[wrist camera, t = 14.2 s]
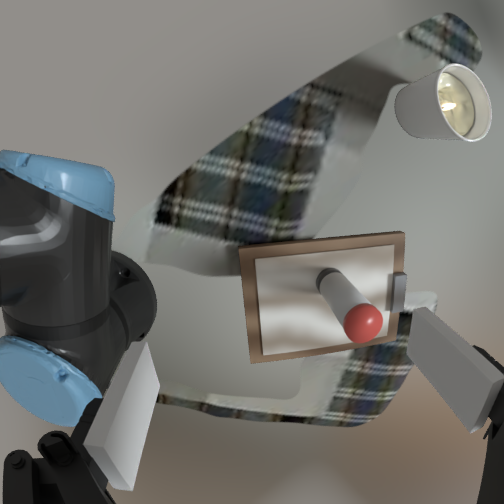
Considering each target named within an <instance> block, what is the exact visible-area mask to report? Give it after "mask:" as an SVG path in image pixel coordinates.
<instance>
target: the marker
mask: <svg viewBox="0 0 504 504" xmlns="http://www.w3.org/2000/svg"><path fill="white" fill-rule="evenodd" d="M316 287H317V289H318V291H319V292H320V294H321V295H322V297H323V298H324V300H325V301H326V303H327V304H328V306H329V307H330V309H331V310H332V312H333V313H334V315H335V316H336V318H337V320H338V321H339V323H340V324H341V326H342V327H343V330H344V332H345V334H346V335H347V337H348V338H349V339H350V340H351V341H352V342H354V343H365V342H368V341H370V340H372V339H373V338H374V337H376V336H377V334H378V333H379V332H380V330H381V328H382V325H383V317H382V314H381V312H380V311H379V310H378V309H377V308H376V307H375V306H374V305H372V304H371V303H370V302H369V301H368V300H367V299H366V298H365V297H364V296H363V295H362V294H361V293H360V291H359V290H358V289H357V288H356V287H355V286H354V285H353V284H352V283H351V282H350V281H349V280H348V279H347V278H346V277H345V276H344V275H343V274H342V273H341V272H340V271H339V270H338V269H336V268H326V269H324V270H322V271H321V272H320V273H319V275H318V276H317V279H316Z"/></svg>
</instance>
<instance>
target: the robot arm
mask: <svg viewBox="0 0 504 504" xmlns="http://www.w3.org/2000/svg"><path fill="white" fill-rule="evenodd" d="M114 187H115V186H114V180H113V177H112V175H111V174H110V173H109V171H107V170H106V169H104V168H102V167H99V166H95V165H91V164H86V163H81V162H76V161H71V160H65V159H59V158H54V157H48V156H42V155H35V154H29V153H21V152H16V151H9V150H2V151H0V307H2V311H3V318H4V323H5V329H6V333H5V336H2V337H1V338H0V382H1V384H2V385H3V386H4V388H5V389H6V391H7V392H8V393H9V394H10V395H11V396H12V397H13V398H14V399H15V400H16V401H17V402H18V403H19V404H20V405H21V406H22V407H24V408H25V409H26V410H28V411H29V412H31V413H32V414H34V415H35V416H37V417H39V418H41V419H43V420H45V421H47V422H50V423H53V424H56V425H60V426H69V427H72V426H76V427H75V429H74V431H73V433H72V435H71V437H69V436H68V435H67V433H64V432H62V431H51V432H48V433H47V434H45V435H44V436H43V437H42V438H41V439H40V440H39V442H38V450H39V452H40V453H41V455H42V456H43V457H44V458H37V459H36V458H35V459H33V458H32V457H31V455H30V454H29V453H28V452H27V451H25V450H15V451H12V452H11V453H9V454H8V455H7V457H6V459H5V461H4V471H3V504H116V503H115V501H114V500H113V498H112V497H111V495H110V494H109V492H108V491H107V489H106V486H107V483H108V481H109V483H110V484H111V485H112V486H113V488H114V489H120V490H129V491H133V487H134V483H135V478H136V475H137V470H138V466H139V462H140V458H141V454H142V450H143V446H144V443H145V439H146V435H147V431H148V427H149V424H150V420H151V416H152V413H153V409H154V405H155V402H156V398H157V395H158V391H159V388H160V384H159V381H158V378H157V375H156V372H155V369H154V365H153V361H152V358H151V355H150V351H149V347H148V344H147V341H141V340H142V339H143V338H144V337H145V336H146V335H147V334H148V332H149V331H150V328H151V327H152V324H153V322H154V320H155V317H156V312H157V299H156V294H155V291H154V288H153V285H152V283H151V281H150V279H149V277H148V276H147V274H146V273H145V272H144V271H143V269H142V268H141V267H140V266H139V265H138V264H137V263H135V262H134V261H133V260H132V259H130V258H128V257H127V256H125V255H123V254H120V253H118V252H114V251H111V245H112V230H113V222H115V216H114V215H113V205H114ZM126 350H128V351H127V353H126V355H125V356H124V358H123V360H122V362H121V364H120V366H119V368H118V370H117V372H116V374H115V376H114V379H113V381H112V383H111V385H110V387H109V389H108V391H107V393H106V395H105V398H102V397H103V395H104V393H105V391H106V389H107V386H108V384H109V382H110V380H111V378H112V376H113V374H114V372H115V370H116V368H117V366H118V364H119V362H120V360H121V358H122V356H123V354H124V352H125V351H126ZM406 354H407V355H408V356H409V358H410V359H411V360H412V361H413V362H414V364H415V365H416V366H417V367H418V368H419V370H420V371H421V372H422V373H423V374H424V376H425V377H426V378H427V379H428V380H429V382H430V383H431V384H432V385H433V387H434V388H435V389H436V390H437V392H438V393H439V394H440V395H441V397H442V398H443V399H444V400H445V402H446V403H447V404H448V405H449V407H450V408H451V409H452V410H453V412H454V413H455V414H456V416H457V417H458V418H459V419H460V421H461V422H462V423H463V425H464V426H465V427H466V428H467V430H468V431H469V432H470V433H471V432H474V431H476V430H478V429H480V428H482V427H483V426H484V424H485V422H486V420H487V418H488V417H489V418H490V419H491V420H492V422H491V424H490V426H489V428H488V429H487V431H486V433H485V435H484V437H483V439H485V438H486V437H487V435H488V434H489V435H488V444H487V452H486V459H485V465H484V471H483V476H482V482H481V486H480V491H479V496H478V500H477V504H504V367H503V366H502V365H501V364H499V363H498V362H497V361H495V359H494V358H493V357H490V355H489V354H488V353H487V352H486V351H485V350H484V349H482V348H479V347H477V346H475V345H474V346H471V345H470V344H469V343H468V342H467V341H465V340H464V339H463V338H462V337H461V336H460V335H458V334H457V333H456V332H455V331H454V330H453V329H451V328H450V327H449V326H448V325H447V324H446V323H444V322H443V321H442V320H441V319H440V318H438V317H437V316H436V315H435V314H434V313H432V312H431V311H430V310H429V309H428V308H426V307H421V308H417V309H413V316H412V323H411V330H410V336H409V342H408V347H407V353H406Z"/></svg>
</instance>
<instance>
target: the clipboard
mask: <svg viewBox="0 0 504 504" xmlns="http://www.w3.org/2000/svg"><path fill="white" fill-rule="evenodd" d="M238 248H239V259H240V268H241V277H242V287H243V297H244V307H245V316H246V325H247V334H248V343H249V353H250V361H251V364H252V363H260V362H270V361H278V360H286V359H294V358H300V357H308V356H315V355H321V354H327V353H333V352H339V351H345V350H350V349H355V348H361V347H366V346H371V345H376V344H380V343H385V342H390V341H394V340H396V334H397V327H398V320H399V312H402V311H403V310H404V301H405V291H406V280H407V275H406V274H405V273H404V272H403V267H404V250H405V233H404V232H402V231H393V232H383V233H371V234H361V235H350V236H339V237H328V238H318V239H307V240H296V241H286V242H276V243H265V244H255V245H245V246H238ZM326 268H336V269H338V270H339V271H340V272H341V273H342V274H343V275H344V276H345V277H346V278H347V279H348V280H349V281H350V282H351V283H352V284H353V285H354V286H355V287H356V288H357V289H358V290H359V291H360V293H361V294H362V295H363V296H364V297H365V298H366V299H367V300H368V301H369V302H370V303H371V304H372V305H374V306H375V307H376V308H377V309H378V310H379V311H380V312H381V314H382V317H383V325H382V328H381V330H380V332H379V333H378V334H377V336H376V337H374V338H373V339H372V340H370V341H368V342H365V343H354V342H352V341H351V340H350V339H349V338H348V337H347V335H346V334H345V332H344V330H343V327H342V326H341V324H340V323H339V321H338V320H337V318H336V316H335V315H334V313H333V312H332V310H331V309H330V307H329V306H328V304H327V303H326V301H325V300H324V298H323V297H322V295H321V294H320V292H319V291H318V289H317V287H316V279H317V276H318V275H319V273H320V272H321V271H322V270H324V269H326Z"/></svg>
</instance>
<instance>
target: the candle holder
mask: <svg viewBox="0 0 504 504" xmlns="http://www.w3.org/2000/svg"><path fill="white" fill-rule="evenodd" d="M395 113H396V117H397V119H398V122H399V123H400V125H401V127H402V128H403V129H404V130H405V131H406V132H407V133H408V134H410V135H411V136H414V137H416V138H421V139H443V140H462V141H469V142H475V141H478V140H481V139H482V138H483V137H484V136H485V135H486V134H487V132H488V130H489V128H490V125H491V120H492V110H491V103H490V99H489V96H488V93H487V91H486V89H485V87H484V85H483V83H482V82H481V80H480V79H479V78H478V76H477V75H476V74H475V73H474V72H473V71H471V70H470V69H469V68H467V67H465V66H463V65H460V64H448V65H446V66H444V67H443V68H441V69H439V70H437V71H435V72H433V73H431V74H429V75H427V76H425V77H423V78H421V79H419V80H417V81H415V82H413V83H411V84H409V85H407V86H406V87H404V88H403V89H401V90H400V91H399V93H398V94H397V96H396V99H395Z"/></svg>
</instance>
